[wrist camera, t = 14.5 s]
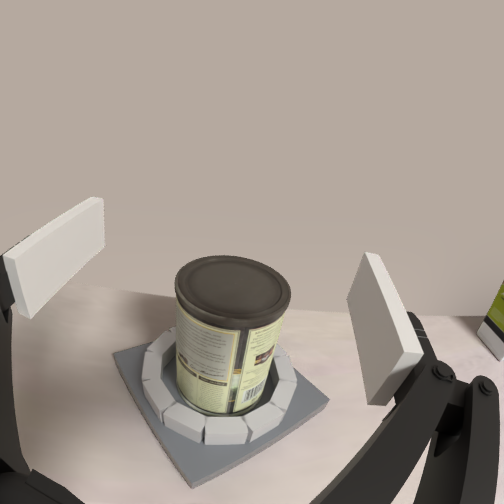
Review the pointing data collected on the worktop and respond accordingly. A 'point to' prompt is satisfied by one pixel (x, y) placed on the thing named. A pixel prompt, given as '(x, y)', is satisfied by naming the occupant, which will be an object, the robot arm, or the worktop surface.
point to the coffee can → (226, 332)
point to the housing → (209, 427)
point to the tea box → (494, 326)
